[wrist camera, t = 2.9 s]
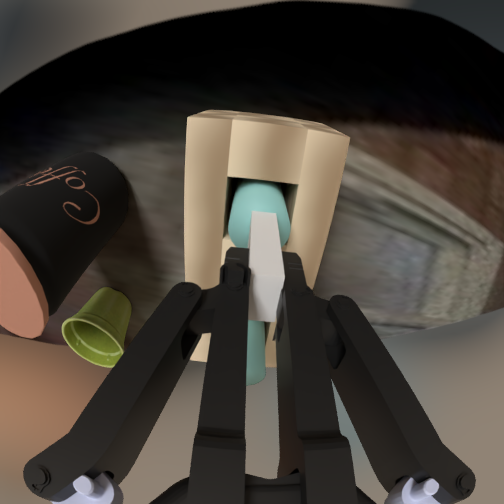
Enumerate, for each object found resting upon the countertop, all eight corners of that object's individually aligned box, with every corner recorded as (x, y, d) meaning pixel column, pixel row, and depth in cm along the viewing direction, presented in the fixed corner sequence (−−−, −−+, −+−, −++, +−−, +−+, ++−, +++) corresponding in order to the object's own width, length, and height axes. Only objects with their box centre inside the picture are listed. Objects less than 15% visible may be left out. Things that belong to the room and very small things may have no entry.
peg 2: (224, 321, 30) (217, 383, 23) (226, 293, 28) (218, 358, 21) (261, 324, 30) (262, 387, 23) (266, 297, 28) (269, 362, 21)
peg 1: (234, 206, 26) (226, 252, 19) (238, 165, 24) (230, 197, 17) (277, 211, 26) (285, 258, 19) (283, 170, 24) (295, 204, 17)
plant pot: (76, 287, 37) (50, 326, 29) (116, 268, 34) (88, 312, 27) (112, 329, 41) (94, 370, 34) (154, 316, 39) (138, 363, 32)
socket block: (201, 307, 38) (190, 359, 30) (208, 109, 24) (187, 117, 17) (281, 314, 38) (286, 368, 30) (321, 123, 25) (350, 137, 17)
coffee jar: (148, 179, 28) (52, 283, 13) (112, 247, 33) (41, 357, 17) (77, 132, 25) (-47, 193, 10) (51, 204, 29) (-40, 288, 14)
